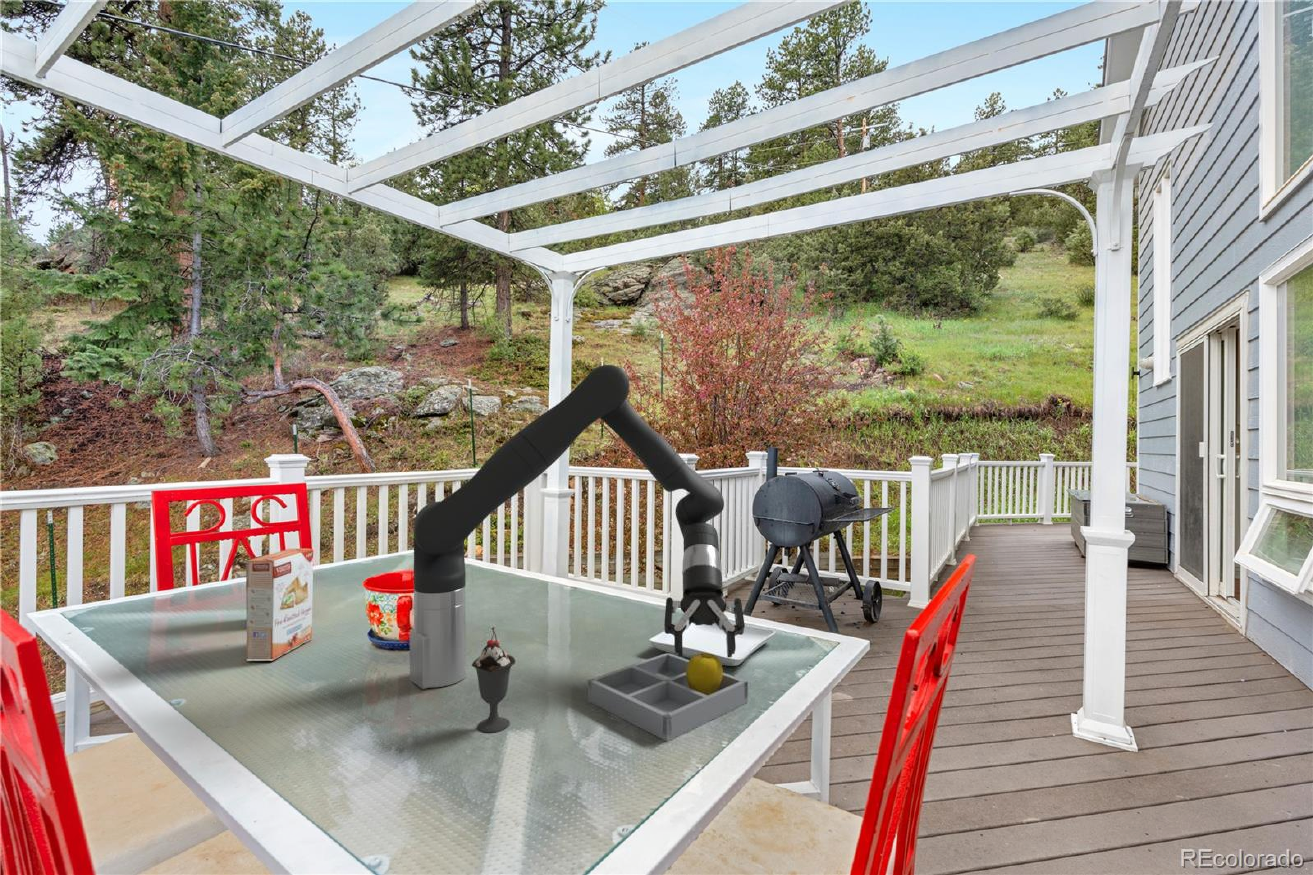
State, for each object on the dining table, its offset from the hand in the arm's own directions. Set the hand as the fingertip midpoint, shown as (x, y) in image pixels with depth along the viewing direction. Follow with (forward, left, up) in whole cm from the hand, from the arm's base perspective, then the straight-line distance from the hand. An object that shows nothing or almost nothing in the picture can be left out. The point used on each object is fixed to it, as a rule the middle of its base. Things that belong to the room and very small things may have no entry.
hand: (705, 655), depth 105 cm
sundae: (-31, +17, -8) cm, 36 cm away
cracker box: (-47, +79, -8) cm, 93 cm away
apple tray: (-5, +4, -8) cm, 10 cm away
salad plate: (+21, +16, -9) cm, 28 cm away
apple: (0, 0, -7) cm, 7 cm away
